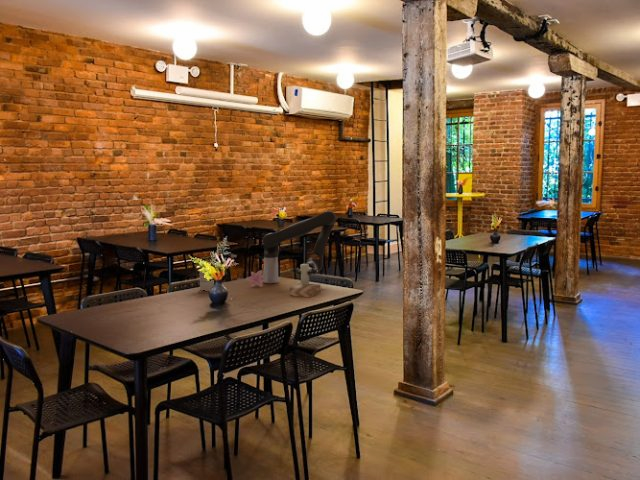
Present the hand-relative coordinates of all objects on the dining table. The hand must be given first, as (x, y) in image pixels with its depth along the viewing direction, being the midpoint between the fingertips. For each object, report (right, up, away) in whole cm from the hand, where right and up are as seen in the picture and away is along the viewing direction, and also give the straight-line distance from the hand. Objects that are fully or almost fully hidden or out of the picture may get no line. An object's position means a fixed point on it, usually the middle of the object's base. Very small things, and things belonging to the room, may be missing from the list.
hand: (303, 273), depth 355 cm
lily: (-32, -10, +32) cm, 46 cm away
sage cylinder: (+1, -7, +3) cm, 8 cm away
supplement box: (-60, -12, +22) cm, 65 cm away
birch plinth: (+1, -13, +4) cm, 14 cm away
